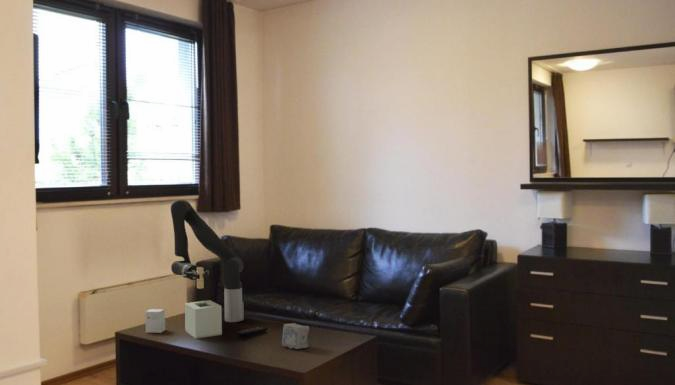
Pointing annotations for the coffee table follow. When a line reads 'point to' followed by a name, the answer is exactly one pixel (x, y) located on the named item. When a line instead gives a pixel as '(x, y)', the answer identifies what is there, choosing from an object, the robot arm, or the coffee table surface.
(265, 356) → the coffee table surface
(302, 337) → the incense holder
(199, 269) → the brass token
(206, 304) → the box
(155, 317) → the small box
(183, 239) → the robot arm
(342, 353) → the coffee table surface
